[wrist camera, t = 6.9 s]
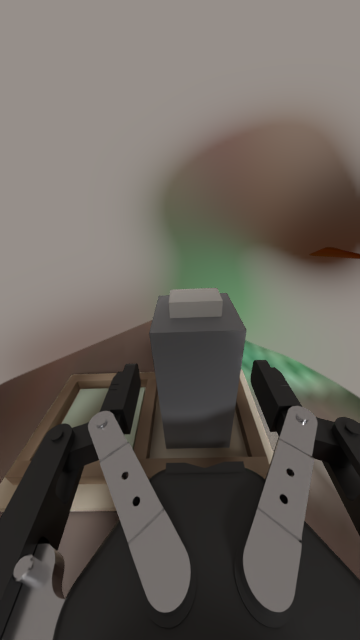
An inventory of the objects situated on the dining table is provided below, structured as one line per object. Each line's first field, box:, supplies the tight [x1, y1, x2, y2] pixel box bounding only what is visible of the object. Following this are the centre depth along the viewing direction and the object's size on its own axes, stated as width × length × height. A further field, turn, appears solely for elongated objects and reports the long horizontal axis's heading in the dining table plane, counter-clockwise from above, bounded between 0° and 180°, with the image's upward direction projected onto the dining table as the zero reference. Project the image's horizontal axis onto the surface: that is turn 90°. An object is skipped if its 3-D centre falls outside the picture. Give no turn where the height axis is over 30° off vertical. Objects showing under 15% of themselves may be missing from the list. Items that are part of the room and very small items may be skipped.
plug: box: [149, 288, 246, 449], centre depth 15 cm, size 5×5×12 cm
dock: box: [0, 370, 273, 512], centre depth 18 cm, size 20×12×2 cm, turn 90°
